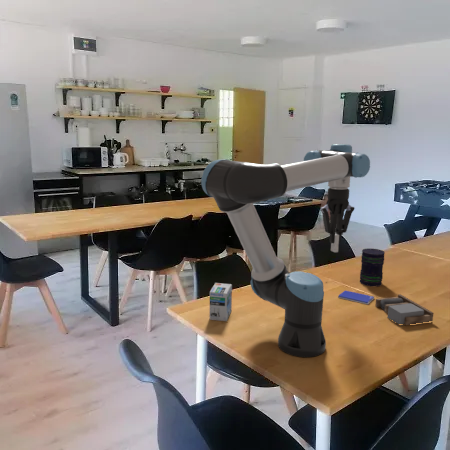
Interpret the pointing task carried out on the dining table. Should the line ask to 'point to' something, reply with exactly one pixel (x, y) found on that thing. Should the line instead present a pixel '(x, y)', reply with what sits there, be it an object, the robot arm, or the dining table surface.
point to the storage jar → (372, 267)
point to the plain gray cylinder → (390, 302)
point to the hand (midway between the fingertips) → (334, 251)
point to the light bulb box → (220, 301)
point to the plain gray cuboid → (403, 312)
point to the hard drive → (356, 297)
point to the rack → (414, 319)
